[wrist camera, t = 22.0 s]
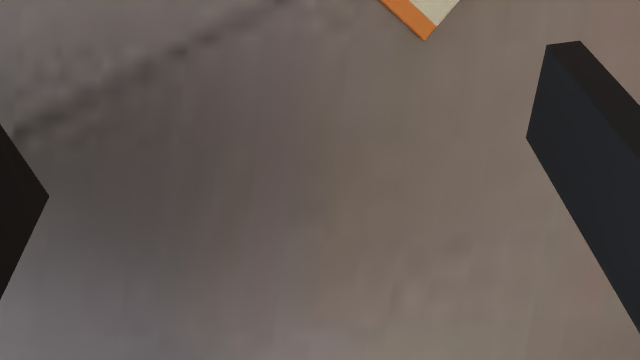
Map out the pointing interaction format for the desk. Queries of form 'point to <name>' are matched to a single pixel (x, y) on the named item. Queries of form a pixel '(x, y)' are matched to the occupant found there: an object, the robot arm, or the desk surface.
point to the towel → (421, 13)
